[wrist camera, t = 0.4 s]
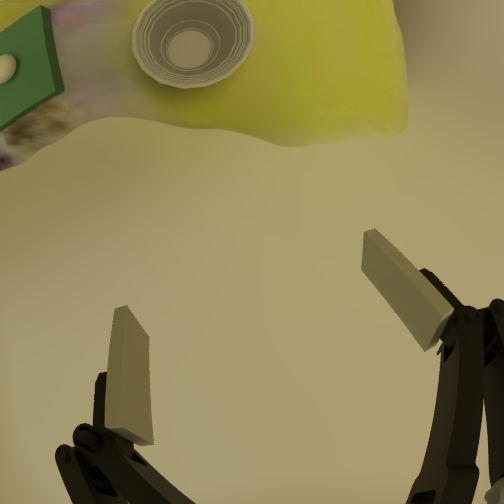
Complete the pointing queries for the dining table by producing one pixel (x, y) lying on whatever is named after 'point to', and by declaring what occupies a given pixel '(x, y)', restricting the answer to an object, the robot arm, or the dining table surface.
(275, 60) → the dining table surface
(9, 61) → the ball
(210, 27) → the plastic cup
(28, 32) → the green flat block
